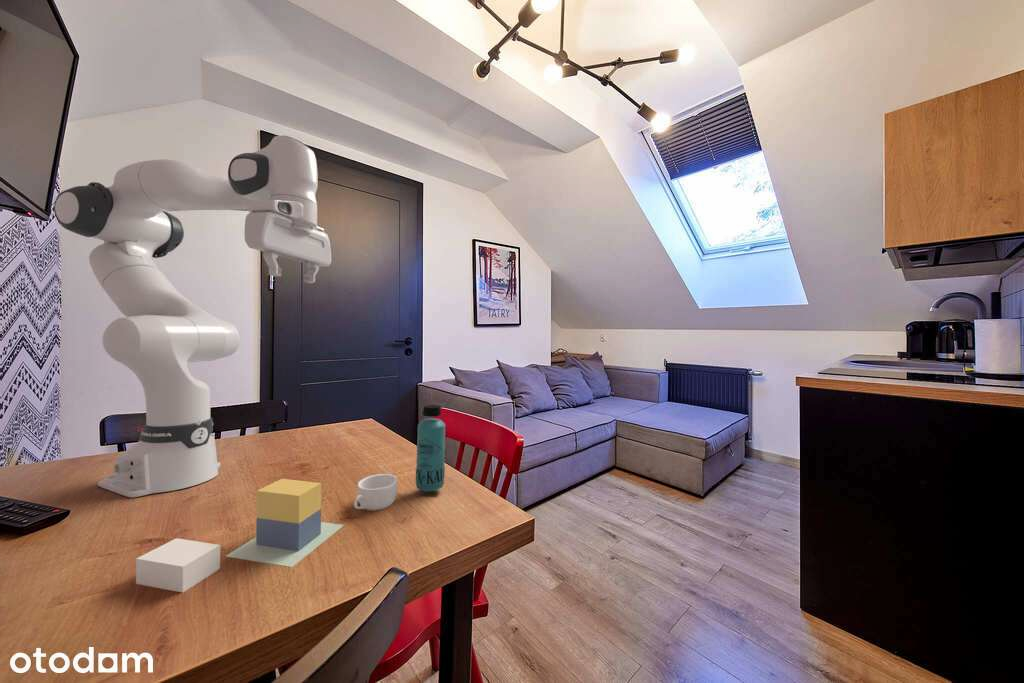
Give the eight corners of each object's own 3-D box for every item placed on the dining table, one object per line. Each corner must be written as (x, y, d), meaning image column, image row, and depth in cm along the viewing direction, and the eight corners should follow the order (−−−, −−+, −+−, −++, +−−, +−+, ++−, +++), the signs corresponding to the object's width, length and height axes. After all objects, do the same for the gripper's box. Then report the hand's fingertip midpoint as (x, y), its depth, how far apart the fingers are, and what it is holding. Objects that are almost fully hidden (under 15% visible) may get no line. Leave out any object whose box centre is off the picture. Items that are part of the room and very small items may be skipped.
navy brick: (256, 544, 58) (256, 517, 58) (281, 528, 63) (281, 503, 63) (298, 551, 57) (298, 523, 57) (320, 534, 62) (321, 508, 61)
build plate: (225, 561, 55) (225, 556, 55) (287, 521, 67) (287, 517, 67) (291, 572, 53) (292, 567, 53) (343, 529, 65) (343, 524, 65)
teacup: (376, 495, 78) (377, 471, 78) (404, 502, 76) (405, 477, 75) (339, 516, 69) (340, 489, 69) (369, 525, 66) (370, 497, 66)
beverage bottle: (417, 486, 84) (419, 402, 83) (446, 485, 84) (447, 402, 84) (412, 498, 77) (414, 408, 77) (443, 498, 78) (445, 408, 77)
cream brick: (135, 590, 49) (136, 558, 49) (176, 567, 54) (176, 538, 54) (182, 599, 47) (183, 566, 47) (219, 575, 52) (220, 545, 52)
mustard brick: (256, 517, 58) (256, 490, 58) (281, 503, 63) (281, 478, 63) (298, 523, 57) (299, 495, 56) (321, 508, 61) (321, 483, 61)
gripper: (316, 230, 88) (315, 286, 88) (238, 198, 67) (237, 271, 68) (338, 229, 86) (337, 286, 87) (266, 197, 66) (265, 270, 66)
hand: (293, 279), depth 77 cm, fingers open, 8 cm apart
